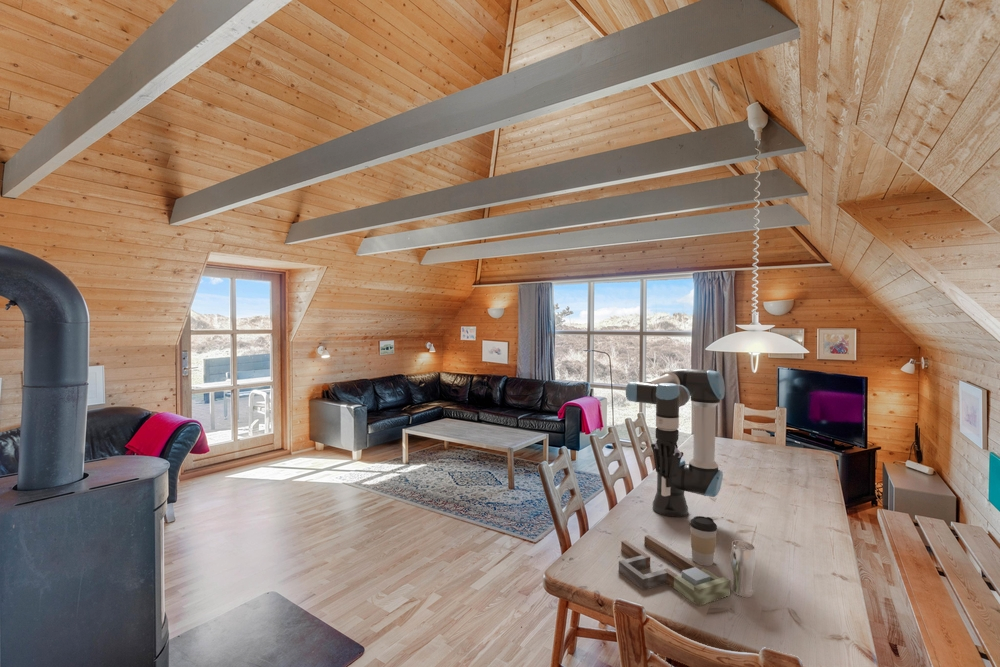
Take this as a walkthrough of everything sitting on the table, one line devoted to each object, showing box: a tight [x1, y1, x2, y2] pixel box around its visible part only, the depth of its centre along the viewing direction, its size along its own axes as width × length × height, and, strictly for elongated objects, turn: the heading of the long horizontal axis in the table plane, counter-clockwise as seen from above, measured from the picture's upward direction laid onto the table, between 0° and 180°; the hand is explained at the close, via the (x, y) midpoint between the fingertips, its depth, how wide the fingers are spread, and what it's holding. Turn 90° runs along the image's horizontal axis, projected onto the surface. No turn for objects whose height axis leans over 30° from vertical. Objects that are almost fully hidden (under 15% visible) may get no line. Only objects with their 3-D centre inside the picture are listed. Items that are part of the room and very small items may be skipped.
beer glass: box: [730, 539, 756, 598], centre depth 146 cm, size 7×7×15 cm
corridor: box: [618, 534, 731, 607], centre depth 155 cm, size 23×36×5 cm, turn 24°
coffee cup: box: [689, 515, 718, 567], centre depth 164 cm, size 9×9×15 cm
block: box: [681, 567, 710, 586], centre depth 147 cm, size 6×6×5 cm
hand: (665, 495), depth 161 cm, fingers closed
